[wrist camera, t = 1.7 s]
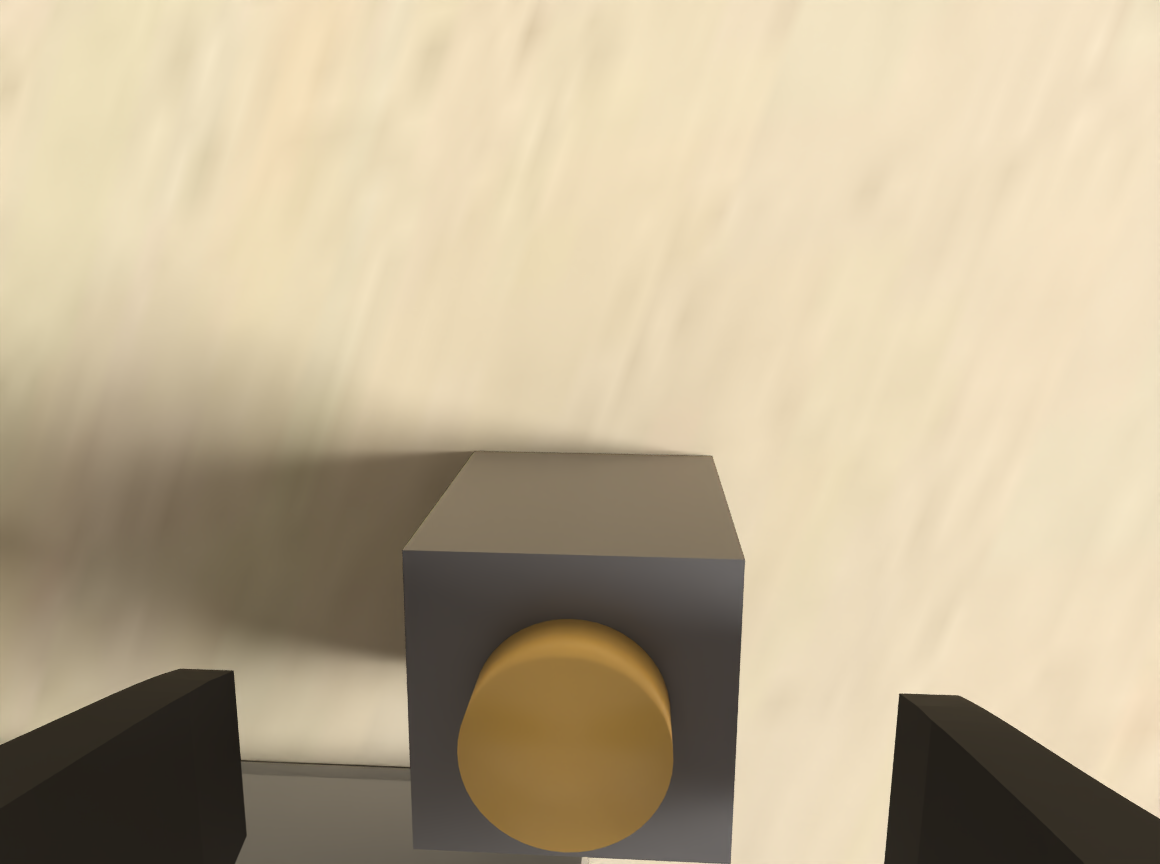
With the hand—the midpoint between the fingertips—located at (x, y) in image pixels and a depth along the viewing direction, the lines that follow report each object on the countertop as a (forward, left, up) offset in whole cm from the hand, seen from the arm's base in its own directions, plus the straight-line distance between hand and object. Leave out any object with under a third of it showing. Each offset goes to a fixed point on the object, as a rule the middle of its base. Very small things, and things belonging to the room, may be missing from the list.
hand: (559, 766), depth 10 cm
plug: (0, 0, -6) cm, 6 cm away
